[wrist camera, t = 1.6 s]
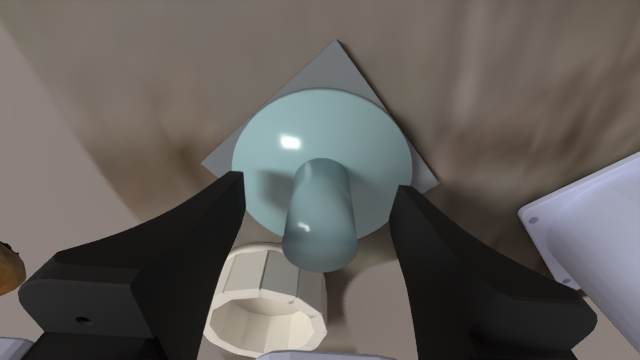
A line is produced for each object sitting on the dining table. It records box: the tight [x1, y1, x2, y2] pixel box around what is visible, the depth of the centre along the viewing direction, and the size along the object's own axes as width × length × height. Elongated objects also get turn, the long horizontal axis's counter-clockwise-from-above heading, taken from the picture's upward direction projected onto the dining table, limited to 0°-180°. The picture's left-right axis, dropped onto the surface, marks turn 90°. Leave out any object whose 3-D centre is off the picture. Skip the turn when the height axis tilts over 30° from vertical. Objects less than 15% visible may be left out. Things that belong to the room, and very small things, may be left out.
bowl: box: [203, 242, 327, 358], centre depth 18 cm, size 8×8×4 cm
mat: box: [201, 39, 439, 194], centre depth 14 cm, size 9×9×1 cm
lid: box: [232, 87, 412, 273], centre depth 12 cm, size 9×9×5 cm
